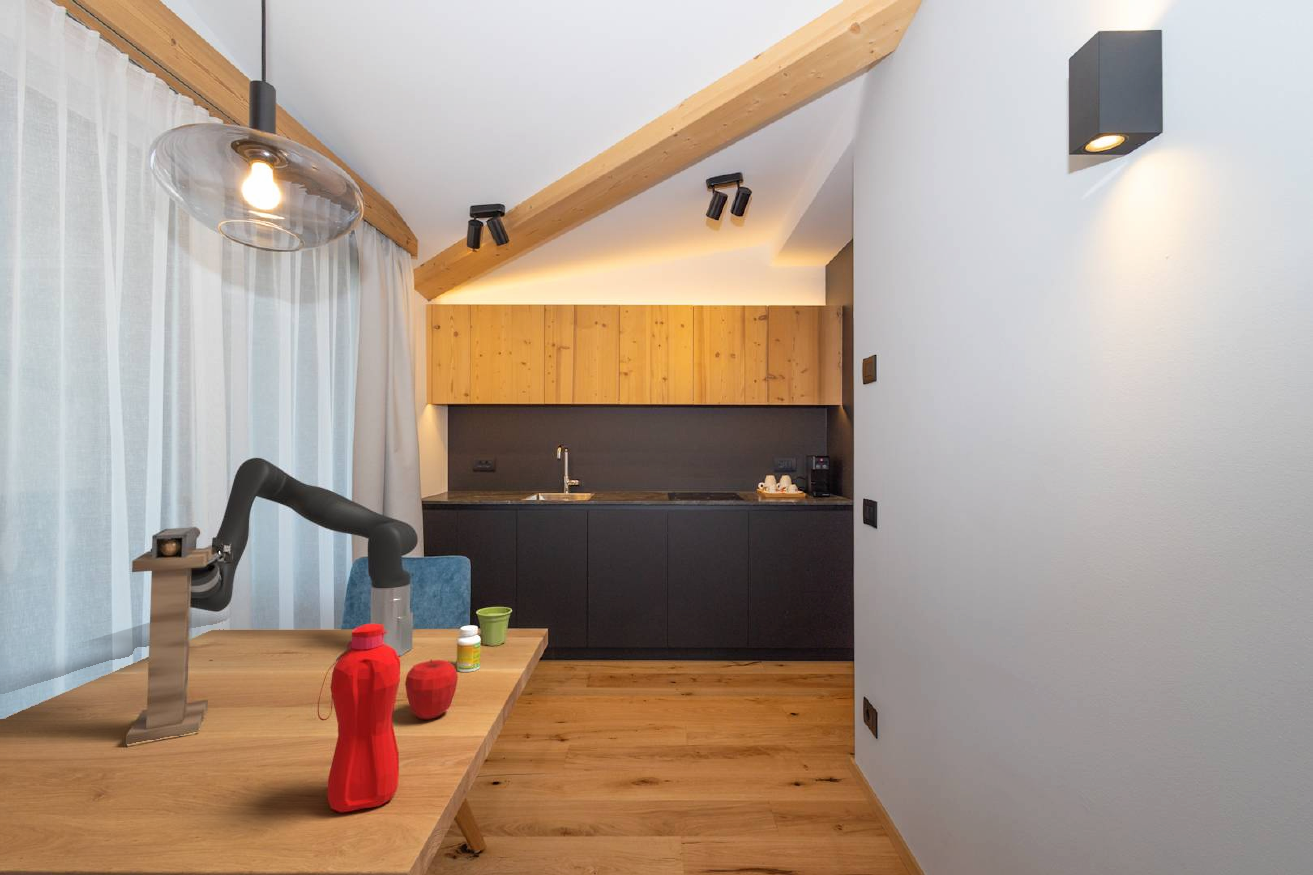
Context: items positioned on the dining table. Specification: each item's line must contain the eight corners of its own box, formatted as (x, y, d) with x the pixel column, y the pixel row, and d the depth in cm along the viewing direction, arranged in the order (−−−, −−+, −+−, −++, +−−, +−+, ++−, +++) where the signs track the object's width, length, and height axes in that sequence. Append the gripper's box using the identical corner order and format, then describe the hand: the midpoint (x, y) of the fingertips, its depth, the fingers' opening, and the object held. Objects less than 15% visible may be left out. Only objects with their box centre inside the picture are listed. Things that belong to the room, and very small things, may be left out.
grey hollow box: (165, 550, 116) (166, 528, 116) (196, 548, 118) (196, 527, 118) (151, 559, 105) (152, 535, 106) (185, 557, 108) (186, 534, 108)
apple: (439, 729, 110) (440, 669, 111) (393, 724, 112) (394, 665, 113) (466, 707, 120) (467, 652, 120) (423, 703, 122) (424, 649, 122)
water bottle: (321, 788, 90) (325, 621, 91) (399, 775, 94) (402, 615, 95) (309, 823, 82) (313, 638, 83) (396, 807, 86) (399, 630, 86)
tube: (183, 540, 127) (184, 526, 128) (200, 539, 129) (200, 526, 129) (160, 555, 107) (160, 540, 107) (179, 554, 108) (180, 539, 108)
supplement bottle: (476, 672, 139) (476, 630, 140) (453, 672, 140) (453, 630, 140) (483, 664, 145) (483, 624, 145) (461, 664, 145) (461, 624, 145)
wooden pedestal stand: (142, 720, 113) (148, 551, 114) (207, 709, 118) (212, 547, 120) (125, 747, 103) (132, 560, 104) (198, 733, 108) (203, 556, 109)
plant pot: (473, 640, 164) (473, 608, 165) (507, 636, 168) (508, 605, 169) (478, 650, 156) (479, 616, 156) (514, 645, 160) (515, 612, 160)
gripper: (161, 558, 135) (147, 528, 124) (237, 553, 143) (231, 524, 131) (156, 590, 132) (142, 562, 120) (235, 583, 139) (229, 556, 127)
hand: (189, 542), depth 126 cm, fingers open, 8 cm apart
